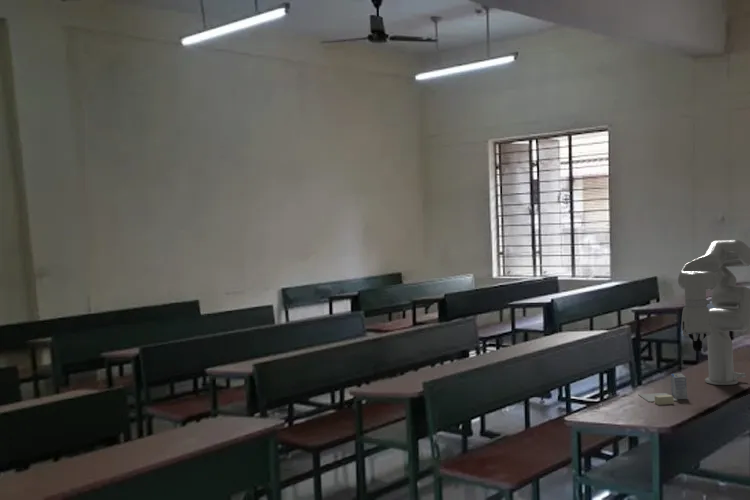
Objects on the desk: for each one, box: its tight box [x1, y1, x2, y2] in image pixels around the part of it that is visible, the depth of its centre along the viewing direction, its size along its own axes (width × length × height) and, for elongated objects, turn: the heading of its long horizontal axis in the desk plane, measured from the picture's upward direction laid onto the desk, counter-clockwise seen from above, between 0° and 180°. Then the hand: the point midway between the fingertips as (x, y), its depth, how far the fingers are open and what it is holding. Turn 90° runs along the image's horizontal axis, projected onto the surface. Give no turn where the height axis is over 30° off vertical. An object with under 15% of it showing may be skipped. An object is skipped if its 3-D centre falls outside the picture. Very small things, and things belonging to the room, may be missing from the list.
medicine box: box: [670, 373, 689, 400], centre depth 280 cm, size 8×4×9 cm, turn 168°
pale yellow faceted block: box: [654, 394, 675, 406], centre depth 272 cm, size 6×3×3 cm, turn 94°
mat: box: [638, 392, 679, 403], centre depth 280 cm, size 11×12×1 cm
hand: (697, 350), depth 279 cm, fingers closed
